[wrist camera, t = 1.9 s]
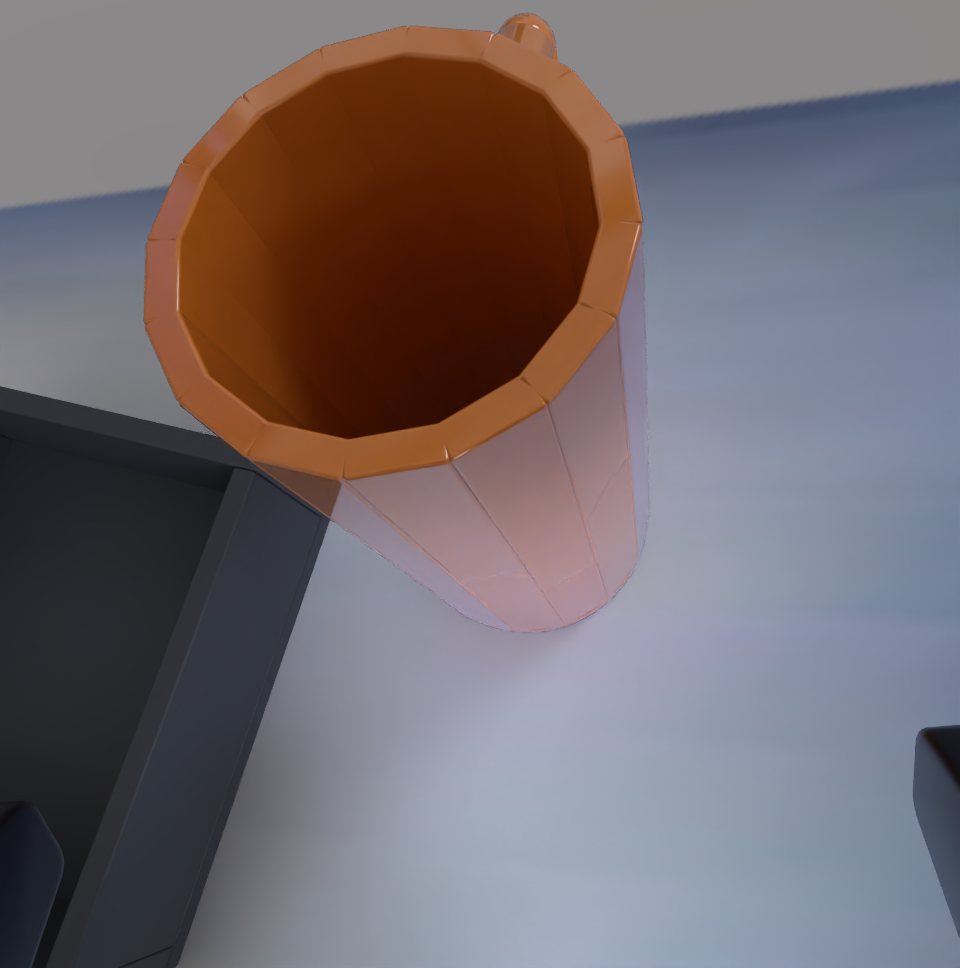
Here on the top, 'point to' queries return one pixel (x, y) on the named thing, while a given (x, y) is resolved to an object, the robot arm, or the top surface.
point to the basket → (135, 658)
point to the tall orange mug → (424, 311)
